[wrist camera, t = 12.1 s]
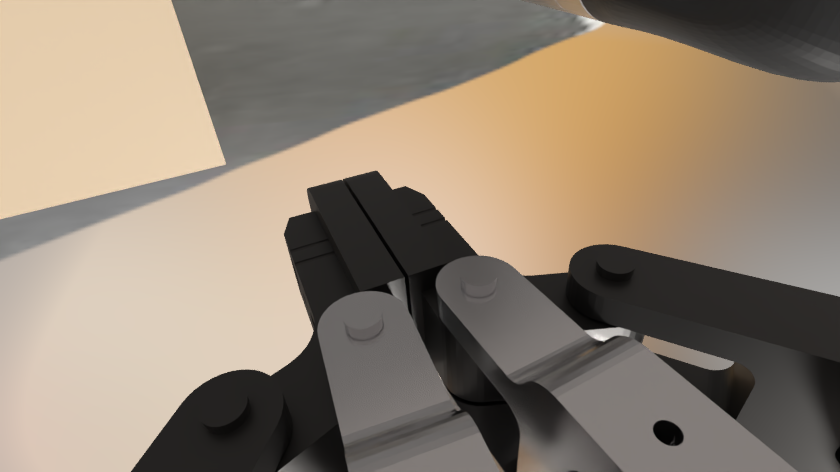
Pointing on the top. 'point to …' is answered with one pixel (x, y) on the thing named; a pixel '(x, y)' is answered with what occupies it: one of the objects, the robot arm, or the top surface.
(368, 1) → the top surface
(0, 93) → the box lid
